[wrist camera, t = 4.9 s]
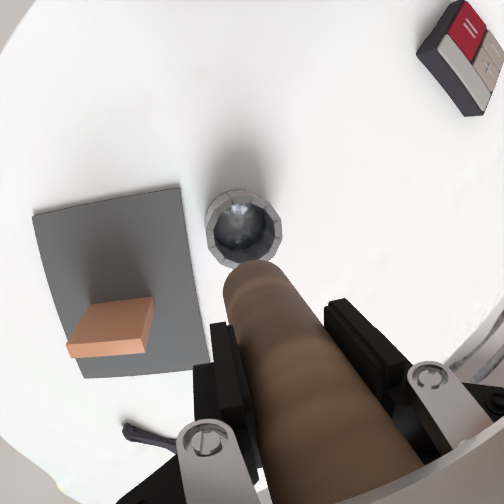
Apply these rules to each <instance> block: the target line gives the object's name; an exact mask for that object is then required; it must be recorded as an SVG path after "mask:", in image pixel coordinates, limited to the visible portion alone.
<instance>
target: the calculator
mask: <svg viewBox="0 0 504 504" xmlns="http://www.w3.org/2000/svg"><path fill="white" fill-rule="evenodd" d="M416 56H417V57H418V59H419V60H420V61H421V62H422V63H423V64H424V65H425V67H426V68H427V69H428V70H429V71H430V73H431V74H432V75H433V76H434V77H435V79H436V80H437V81H438V82H439V83H440V85H441V86H442V87H443V89H444V90H445V91H446V92H447V94H448V95H449V96H450V98H451V99H452V100H453V102H454V103H455V104H456V106H457V107H458V109H459V110H460V111H461V113H462V114H463V116H464V117H469V116H481V115H484V112H485V110H486V108H487V105H488V103H489V100H490V98H491V95H492V92H493V90H494V88H495V85H496V82H497V79H498V77H499V73H500V70H501V68H502V65H503V62H504V51H503V50H502V48H501V46H500V45H499V43H498V42H497V40H496V39H495V38H494V36H493V35H492V33H491V32H490V31H489V30H487V29H486V25H485V23H484V22H483V21H482V19H481V18H480V17H479V15H478V14H477V13H476V12H475V10H474V9H473V8H472V7H471V5H470V4H469V3H468V2H467V1H465V0H458V1H455V2H453V3H451V4H450V5H449V6H448V8H447V9H446V11H445V12H444V14H443V15H442V17H441V18H440V20H439V21H438V23H437V25H436V26H435V28H434V29H433V31H432V32H431V34H430V35H429V36H428V37H427V38H426V39H425V41H424V42H423V44H422V45H421V47H420V48H419V49H418V51H417V52H416Z"/></svg>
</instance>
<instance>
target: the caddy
mask: <svg viewBox="0 0 504 504" xmlns="http://www.w3.org/2000/svg"><path fill="white" fill-rule="evenodd" d="M204 221H205V229H206V237H207V244H208V249H209V251H210V252H211V253H212V254H213V256H214V257H215V258H216V259H217V260H218V262H219V263H220V264H221V265H224V266H227V267H229V268H232V269H235V268H236V267H238V266H239V265H241V264H243V263H245V262H248V261H252V260H263V261H269V260H270V259H271V258H273V257H274V256H275V254H276V251H277V249H278V247H279V245H280V243H281V241H282V225H281V218H280V217H279V215H278V214H277V213H276V211H275V210H274V208H273V207H272V206H271V204H270V203H269V202H267V201H266V200H264V199H262V198H261V197H259V196H257V195H254V194H252V193H251V192H248V191H245V190H231V191H228V192H225V193H223V194H221V195H219V196H218V197H217V198H216V199H214V201H213V202H212V203H211V204H210V206H209V208H208V210H207V213H206V217H205V219H204Z"/></svg>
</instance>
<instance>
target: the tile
mask: <svg viewBox="0 0 504 504" xmlns="http://www.w3.org/2000/svg"><path fill="white" fill-rule="evenodd" d="M154 311H155V306H154V302H153V298H152V296H151V297H144V298H136V299H128V300H120V301H112V302H104V303H96V304H90V306H89V307H88V309H87V310H86V312H85V314H84V315H83V317H82V318H81V320H80V322H79V323H78V325H77V326H76V328H75V330H74V331H73V333H72V335H71V336H70V338H69V340H68V342H67V343H66V347H67V349H68V352H69V354H70V356H71V358H84V357H100V356H113V355H125V354H136V353H145V351H146V346H147V342H148V337H149V333H150V328H151V324H152V319H153V315H154Z"/></svg>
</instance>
